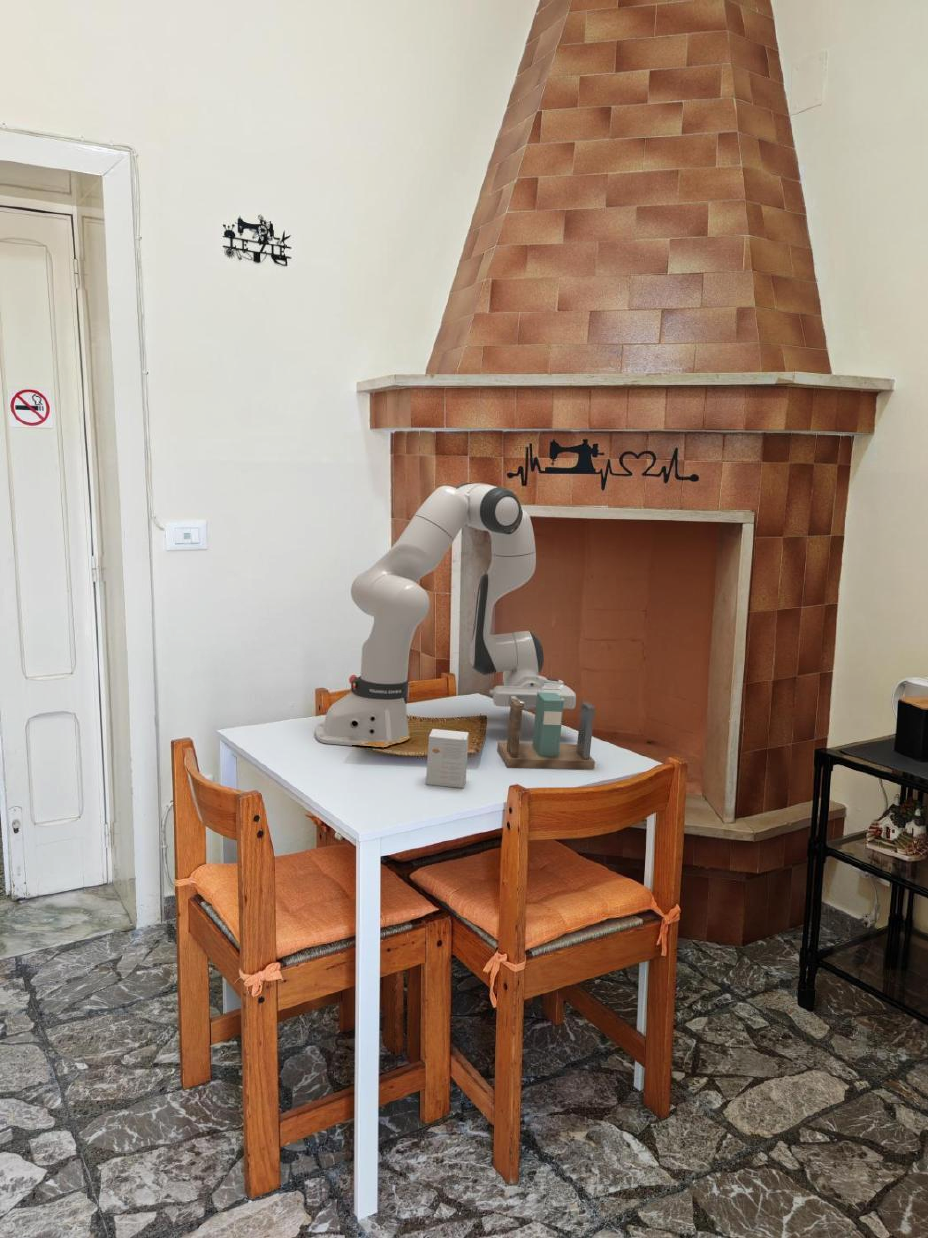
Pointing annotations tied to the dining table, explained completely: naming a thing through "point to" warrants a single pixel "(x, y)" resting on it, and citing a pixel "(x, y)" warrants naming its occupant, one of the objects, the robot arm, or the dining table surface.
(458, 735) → the small box
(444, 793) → the dining table surface
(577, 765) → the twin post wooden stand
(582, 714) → the bookend
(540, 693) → the book
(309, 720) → the dining table surface
